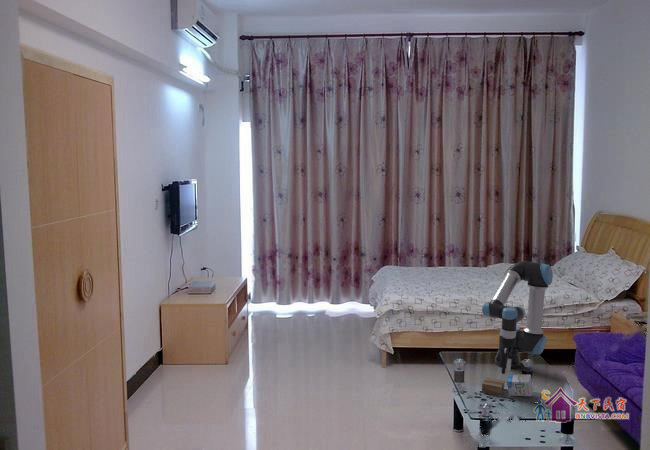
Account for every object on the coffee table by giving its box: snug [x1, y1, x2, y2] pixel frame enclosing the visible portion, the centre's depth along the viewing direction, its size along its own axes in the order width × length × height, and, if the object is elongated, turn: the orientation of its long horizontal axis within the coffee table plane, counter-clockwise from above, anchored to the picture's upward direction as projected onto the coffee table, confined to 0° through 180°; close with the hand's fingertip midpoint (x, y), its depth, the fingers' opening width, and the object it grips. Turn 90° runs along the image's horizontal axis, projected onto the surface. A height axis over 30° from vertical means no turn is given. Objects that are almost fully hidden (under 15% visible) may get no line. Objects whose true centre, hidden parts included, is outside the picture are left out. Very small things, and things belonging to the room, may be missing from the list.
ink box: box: [506, 374, 534, 396], centre depth 311 cm, size 8×8×12 cm
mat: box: [503, 389, 542, 404], centre depth 312 cm, size 14×17×1 cm
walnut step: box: [481, 376, 506, 397], centre depth 317 cm, size 10×10×5 cm
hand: (505, 374), depth 313 cm, fingers open, 13 cm apart
